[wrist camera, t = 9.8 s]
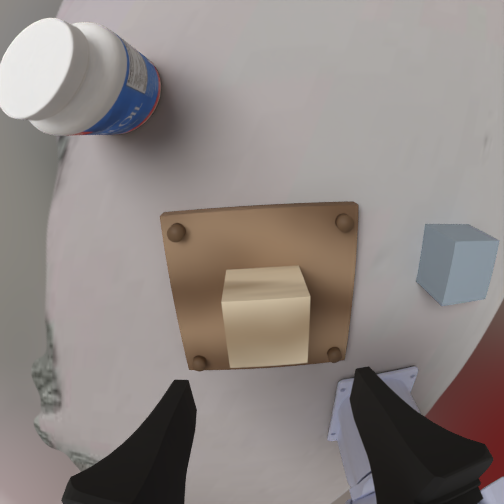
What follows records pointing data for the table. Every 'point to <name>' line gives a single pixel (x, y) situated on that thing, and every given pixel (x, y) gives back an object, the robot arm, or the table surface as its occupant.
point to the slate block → (456, 263)
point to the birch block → (266, 316)
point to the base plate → (261, 256)
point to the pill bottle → (77, 80)
